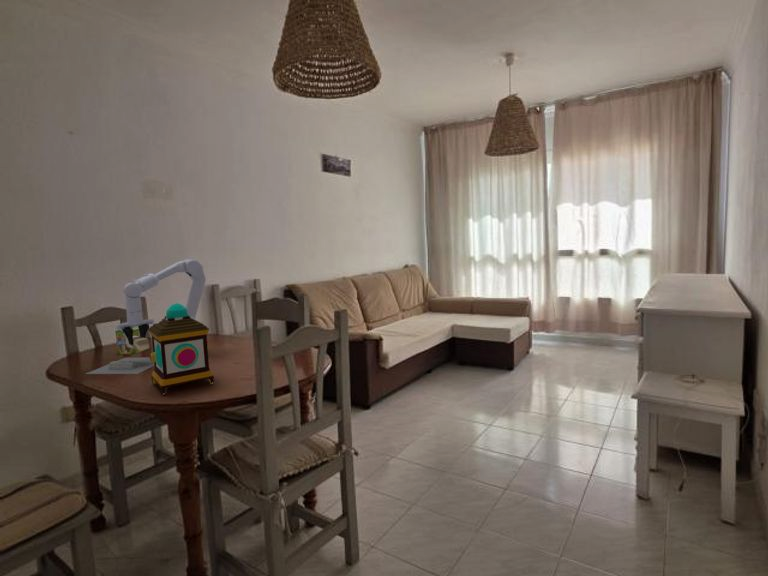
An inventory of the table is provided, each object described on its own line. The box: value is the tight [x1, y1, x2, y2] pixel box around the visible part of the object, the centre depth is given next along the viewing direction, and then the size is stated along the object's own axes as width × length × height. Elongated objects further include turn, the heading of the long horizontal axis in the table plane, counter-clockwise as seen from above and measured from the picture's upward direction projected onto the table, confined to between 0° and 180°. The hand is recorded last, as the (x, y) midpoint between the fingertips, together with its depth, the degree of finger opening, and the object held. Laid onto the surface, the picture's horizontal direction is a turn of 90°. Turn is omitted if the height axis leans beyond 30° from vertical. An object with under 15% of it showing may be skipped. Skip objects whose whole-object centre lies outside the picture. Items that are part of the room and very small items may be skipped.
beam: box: [125, 336, 150, 350], centre depth 190 cm, size 12×4×4 cm, turn 53°
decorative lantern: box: [147, 302, 215, 395], centre depth 162 cm, size 20×20×30 cm
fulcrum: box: [109, 360, 138, 370], centre depth 185 cm, size 10×4×3 cm, turn 85°
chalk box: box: [115, 325, 148, 356], centre depth 213 cm, size 9×9×15 cm
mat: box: [85, 356, 155, 375], centre depth 190 cm, size 22×24×1 cm
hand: (137, 343), depth 190 cm, fingers closed on beam, 4 cm apart
